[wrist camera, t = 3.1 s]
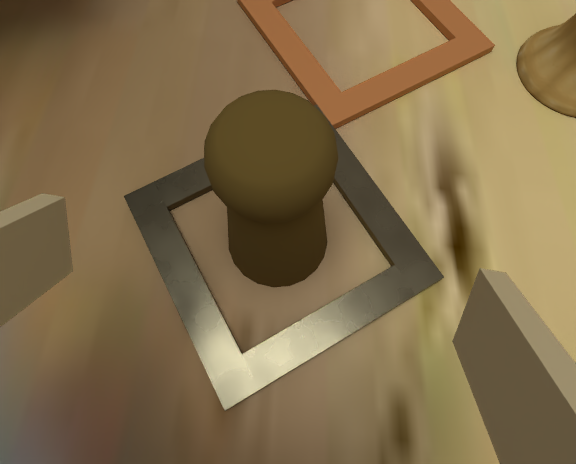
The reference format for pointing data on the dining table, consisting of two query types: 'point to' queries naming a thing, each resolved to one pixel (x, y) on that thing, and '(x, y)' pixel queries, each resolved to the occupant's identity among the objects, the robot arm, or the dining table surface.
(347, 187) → the frame
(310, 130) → the cork
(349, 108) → the frame
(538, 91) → the hand bell
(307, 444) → the dining table surface
